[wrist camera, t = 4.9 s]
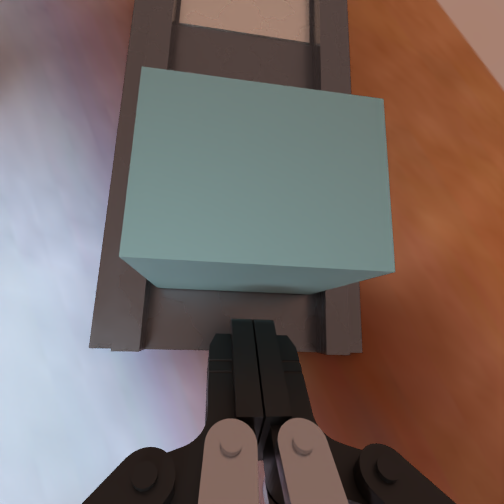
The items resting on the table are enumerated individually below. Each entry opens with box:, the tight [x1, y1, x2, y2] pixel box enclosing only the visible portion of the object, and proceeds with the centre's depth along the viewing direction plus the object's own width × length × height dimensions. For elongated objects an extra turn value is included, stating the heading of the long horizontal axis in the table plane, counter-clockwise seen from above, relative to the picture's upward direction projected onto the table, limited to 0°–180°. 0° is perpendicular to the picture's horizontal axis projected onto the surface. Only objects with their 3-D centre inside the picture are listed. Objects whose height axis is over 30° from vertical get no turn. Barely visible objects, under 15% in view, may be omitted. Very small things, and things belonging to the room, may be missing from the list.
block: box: [119, 66, 395, 294], centre depth 14 cm, size 8×6×8 cm
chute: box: [89, 0, 362, 355], centre depth 19 cm, size 14×28×2 cm, turn 178°
